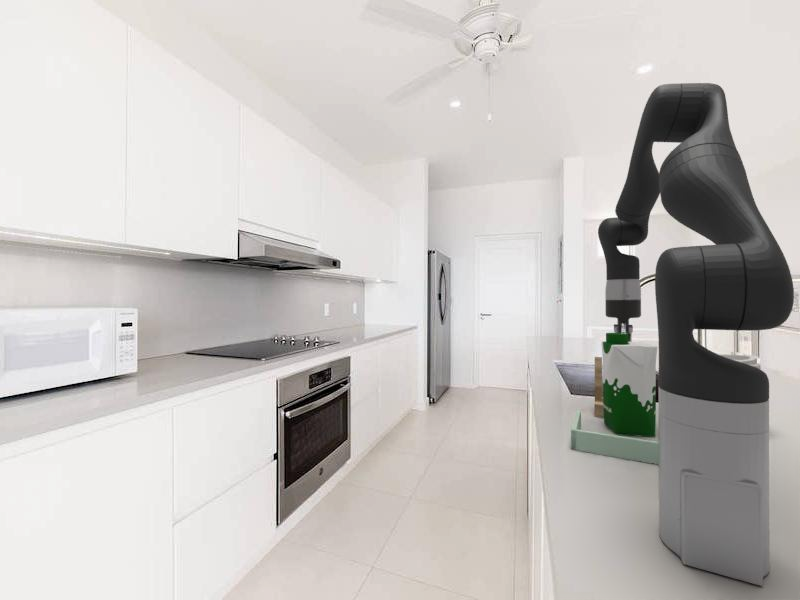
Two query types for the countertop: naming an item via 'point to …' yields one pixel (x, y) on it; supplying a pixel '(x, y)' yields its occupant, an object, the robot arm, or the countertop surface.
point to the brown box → (598, 388)
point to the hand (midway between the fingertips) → (623, 367)
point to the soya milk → (629, 385)
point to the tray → (612, 444)
